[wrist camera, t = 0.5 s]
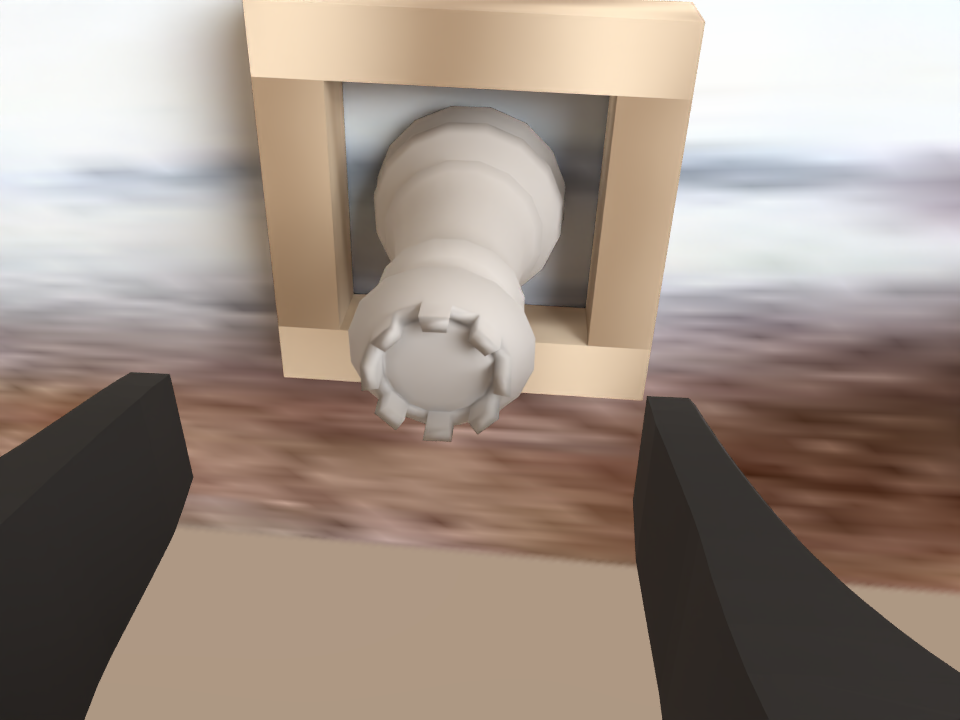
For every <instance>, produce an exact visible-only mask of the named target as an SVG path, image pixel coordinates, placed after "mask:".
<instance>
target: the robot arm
mask: <svg viewBox="0 0 960 720" xmlns="http://www.w3.org/2000/svg"><path fill="white" fill-rule="evenodd" d="M192 480H193V474H192V469H191V465H190V461H189V456H188V452H187V448H186V443H185V439H184V434H183V430H182V426H181V421H180V417H179V413H178V408H177V404H176V399H175V395H174V391H173V386H172V382H171V378H170V374H155V373H133V372H131V373H129V374H127V375H126V376H124V377H122V378H120V379H119V380H117V381H115V382H114V383H112V384H111V385H109V386H108V387H106V388H104V389H103V390H101V391H100V392H98V393H97V394H95V395H94V396H92V397H91V398H89V399H88V400H86V401H85V402H83V403H82V404H80V405H79V406H78V407H76V408H75V409H73V410H72V411H70V412H69V413H67V414H66V415H64V416H63V417H61V418H60V419H58V420H57V421H55V422H54V423H52V424H51V425H49V426H48V427H46V428H45V429H43V430H42V431H40V432H39V433H37V434H36V435H34V436H33V437H31V438H30V439H28V440H27V441H25V442H24V443H22V444H21V445H19V446H18V447H16V448H14V449H13V450H11V451H9V452H8V453H6V454H5V455H3V456H1V457H0V720H84V719H85V716H86V714H87V711H88V709H89V706H90V704H91V701H92V698H93V696H94V693H95V691H96V688H97V686H98V683H99V681H100V679H101V677H102V675H103V672H104V671H105V668H106V666H107V664H108V662H109V660H110V658H111V655H112V654H113V652H114V650H115V648H116V646H117V644H118V642H119V640H120V638H121V636H122V634H123V632H124V630H125V629H126V627H127V625H128V623H129V621H130V619H131V617H132V615H133V613H134V611H135V609H136V607H137V605H138V604H139V602H140V600H141V598H142V596H143V594H144V592H145V590H146V588H147V586H148V584H149V582H150V580H151V578H152V577H153V575H154V572H155V571H156V569H157V567H158V565H159V563H160V561H161V559H162V557H163V555H164V553H165V551H166V549H167V547H168V545H169V543H170V541H171V539H172V537H173V535H174V532H175V529H176V527H177V524H178V521H179V518H180V516H181V513H182V510H183V507H184V504H185V501H186V498H187V495H188V492H189V489H190V486H191V483H192ZM633 511H634V533H635V551H636V563H637V569H638V575H639V581H640V586H641V592H642V598H643V605H644V610H645V616H646V622H647V627H648V633H649V639H650V644H651V650H652V656H653V661H654V667H655V673H656V678H657V684H658V690H659V696H660V704H661V712H662V720H960V672H958V671H957V670H955V669H954V668H952V667H951V666H949V665H948V664H947V663H945V662H944V661H942V660H940V659H939V658H938V657H936V656H935V655H933V654H932V653H930V652H929V651H928V650H926V649H925V648H923V647H922V646H921V645H919V644H918V643H917V642H915V641H914V640H912V639H911V638H910V637H909V636H907V635H906V634H904V633H903V632H902V631H901V630H899V629H898V628H897V627H895V626H894V625H893V624H892V623H890V622H889V621H888V620H886V619H885V618H884V617H883V616H882V615H881V614H879V613H878V612H877V611H876V610H874V609H873V608H872V607H870V606H869V605H868V604H867V603H866V602H864V601H863V600H862V599H861V598H860V597H858V596H857V595H856V594H855V593H854V592H853V591H851V590H850V589H849V588H848V587H847V586H846V585H845V584H844V583H842V582H841V581H840V580H839V579H838V578H837V577H836V576H835V575H834V574H833V573H832V572H831V571H830V570H829V569H827V568H826V567H825V566H824V565H823V564H822V563H821V562H820V561H819V560H818V559H817V558H816V557H815V556H814V555H813V554H812V553H811V552H810V551H809V550H808V549H807V548H806V547H805V546H804V545H803V544H802V543H801V542H800V541H799V540H798V539H797V538H796V536H795V535H794V534H793V533H792V532H791V531H790V530H789V529H788V528H787V526H786V525H785V524H784V523H783V522H782V521H781V520H780V519H779V517H778V516H777V515H776V514H775V513H774V512H773V511H772V509H771V508H770V507H769V506H768V505H767V503H766V502H765V501H764V500H763V499H762V497H761V496H760V495H759V494H758V492H757V491H756V490H755V488H754V487H753V486H752V485H751V483H750V482H749V481H748V480H747V478H746V477H745V476H744V474H743V473H742V472H741V471H740V469H739V468H738V467H737V465H736V464H735V463H734V461H733V460H732V459H731V457H730V456H729V454H728V453H727V452H726V450H725V449H724V447H723V446H722V444H721V443H720V442H719V440H718V439H717V437H716V436H715V434H714V433H713V431H712V430H711V429H710V427H709V426H708V424H707V423H706V421H705V419H704V418H703V416H702V415H701V413H700V412H699V410H698V409H697V407H696V406H695V404H694V403H693V402H692V401H691V400H690V399H689V398H673V397H651V396H647V400H646V408H645V415H644V423H643V430H642V438H641V445H640V453H639V460H638V468H637V475H636V482H635V490H634V497H633Z"/></svg>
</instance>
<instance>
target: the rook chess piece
mask: <svg viewBox="0 0 960 720" xmlns="http://www.w3.org/2000/svg"><path fill="white" fill-rule="evenodd" d="M564 198H565V183H564V180H563V177H562V175H561V172H560V169H559V166H558V164H557V161H556V158H555V156H554V153H553V151H552V150H551V149H550V147H549V146H548V145H547V144H546V143H545V142H544V141H543V140H542V139H541V138H540V137H539V136H538V135H537V134H536V133H535V132H534V131H533V130H532V129H531V128H530V127H529V125H528V124H527V123H525V122H522V121H520V120H518V119H516V118H513V117H511V116H509V115H507V114H504V113H502V112H500V111H498V110H495V109H493V108H491V107H461V106H450V107H448V108H445V109H443V110H440V111H437V112H435V113H432V114H430V115H427V116H425V117H422V118H419V119H417V120H415V121H414V122H413V123H412V124H411V125H410V126H409V127H408V128H407V129H406V130H405V131H404V132H403V133H402V134H401V135H400V136H399V137H398V138H397V139H396V140H395V141H394V142H393V143H392V144H391V145H390V146H389V148H388V151H387V154H386V156H385V159H384V162H383V164H382V167H381V170H380V172H379V175H378V177H377V187H376V189H375V192H374V207H375V223H376V231H377V235H378V237H379V239H380V241H381V243H382V245H383V247H384V249H385V251H386V253H387V255H388V257H389V259H390V261H391V262H390V263H389V264H388V265H387V266H386V267H385V269H384V271H383V274H382V276H381V279H380V281H379V284H378V285H377V286H376V287H375V288H374V289H373V290H372V291H370V292H369V293H368V294H367V295H366V296H365V297H364V298H363V299H362V300H360V302H359V304H358V307H357V309H356V312H355V314H354V317H353V319H352V322H351V324H350V327H349V329H348V335H349V346H350V357H351V363H352V364H353V366H354V368H355V370H356V371H357V373H358V375H359V377H360V378H361V388H362V391H364V390H368V391H369V392H371V393H372V394H373V395H374V396H375V397H377V398H378V403H377V406H376V410H375V414H376V415H377V416H379V417H380V418H381V419H382V420H384V421H385V422H386V423H387V424H388V425H390V426H391V427H392V428H393V429H395V430H397V429H398V427H399V426H400V425H401V424H402V422H403V421H404V420H405V417H408V418H411V419H413V420H416V421H419V422H421V423H424V424H426V426H425V431H424V436H423V440H424V441H445V442H451V440H452V434H453V427H454V425H461V424H465V423H469V424H470V425H471V427H472V428H473V429H474V430H475V432H476V433H477V434H479V433H480V432H482V431H483V430H484V429H486V428H487V427H489V426H490V425H491V424H493V423H494V422H495V421H497V420H498V419H499V411H500V410H501V409H503V408H504V407H505V406H507V405H508V404H509V403H511V402H512V401H513V400H515V399H516V398H517V397H519V395H520V393H521V392H522V390H523V388H524V386H525V385H526V383H527V381H528V379H529V377H530V376H531V374H532V372H533V370H534V360H535V340H536V338H535V336H534V333H533V331H532V329H531V326H530V324H529V322H528V320H527V317H526V315H525V313H524V302H525V296H524V294H523V292H522V289H521V286H522V285H524V284H525V283H526V282H527V281H529V280H530V279H531V278H532V277H534V276H535V275H536V274H537V273H538V272H540V271H541V270H542V268H543V267H544V265H545V264H546V262H547V260H548V258H549V256H550V254H551V252H552V250H553V249H554V247H555V245H556V243H557V241H558V239H559V237H560V235H561V223H562V221H563V214H564Z"/></svg>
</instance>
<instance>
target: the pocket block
mask: <svg viewBox="0 0 960 720" xmlns="http://www.w3.org/2000/svg"><path fill="white" fill-rule="evenodd" d="M243 9H244V18H245V27H246V36H247V45H248V55H249V64H250V73H251V82H252V91H253V100H254V109H255V118H256V127H257V136H258V145H259V154H260V164H261V173H262V182H263V191H264V200H265V209H266V218H267V227H268V236H269V245H270V254H271V263H272V272H273V282H274V291H275V300H276V309H277V318H278V327H279V336H280V345H281V354H282V363H283V372H284V377H292V378H307V379H322V380H337V381H353V382H361V378H360V377H359V375H358V373H357V371H356V370H355V368H354V366H353V364H352V363H351V357H350V346H349V335H348V329H349V327H350V324H351V322H352V319H353V317H354V314H355V312H356V309H357V307H358V304H359V302H360V300H362V299H363V298H364V297H365V296H366V295H364V294H354V293H353V275H352V256H351V238H350V219H349V200H348V182H347V163H346V145H345V126H344V107H343V89H342V81H343V82H362V83H381V84H400V85H419V86H438V87H457V88H476V89H496V90H515V91H534V92H553V93H572V94H591V95H610V97H609V105H608V114H607V123H606V132H605V141H604V149H603V158H602V167H601V176H600V185H599V193H598V202H597V211H596V220H595V229H594V238H593V246H592V255H591V264H590V273H589V282H588V290H587V299H586V308H574V307H558V306H542V305H526V304H524V313H525V315H526V317H527V320H528V322H529V324H530V326H531V329H532V331H533V333H534V336H535V338H536V340H535V360H534V370H533V372H532V374H531V376H530V377H529V379H528V381H527V383H526V385H525V386H524V388H523V390H522V392H521V393H535V394H550V395H566V396H581V397H596V398H611V399H626V400H643V394H644V388H645V382H646V376H647V370H648V364H649V357H650V351H651V345H652V339H653V333H654V327H655V321H656V315H657V309H658V303H659V297H660V291H661V285H662V279H663V273H664V267H665V261H666V255H667V249H668V243H669V237H670V231H671V225H672V219H673V213H674V207H675V201H676V195H677V189H678V183H679V176H680V170H681V164H682V158H683V152H684V146H685V140H686V134H687V128H688V122H689V116H690V110H691V104H692V98H693V92H694V86H695V80H696V74H697V68H698V62H699V56H700V50H701V44H702V38H703V32H704V26H705V21H704V19H703V18H702V16H701V15H700V13H699V11H698V10H697V8H696V7H695V5H694V3H693V2H681V1H660V0H243Z"/></svg>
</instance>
